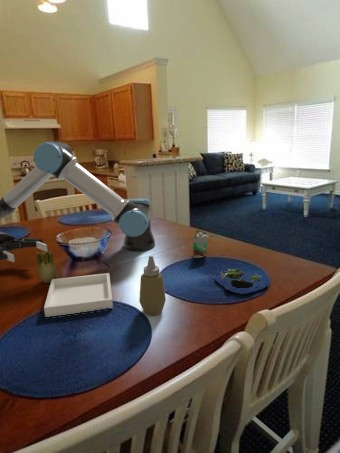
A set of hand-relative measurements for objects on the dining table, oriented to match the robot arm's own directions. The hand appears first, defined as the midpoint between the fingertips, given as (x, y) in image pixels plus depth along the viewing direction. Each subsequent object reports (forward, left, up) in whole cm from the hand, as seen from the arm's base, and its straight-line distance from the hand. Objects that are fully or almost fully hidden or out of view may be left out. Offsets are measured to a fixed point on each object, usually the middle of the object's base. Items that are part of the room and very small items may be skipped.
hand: (30, 253), depth 124 cm
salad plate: (-74, +27, -10) cm, 80 cm away
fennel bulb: (-7, +8, -10) cm, 14 cm away
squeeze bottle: (-41, +38, -9) cm, 56 cm away
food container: (-70, -2, -9) cm, 70 cm away
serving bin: (-19, +24, -9) cm, 31 cm away
